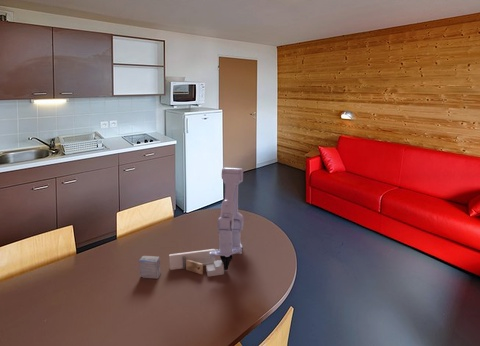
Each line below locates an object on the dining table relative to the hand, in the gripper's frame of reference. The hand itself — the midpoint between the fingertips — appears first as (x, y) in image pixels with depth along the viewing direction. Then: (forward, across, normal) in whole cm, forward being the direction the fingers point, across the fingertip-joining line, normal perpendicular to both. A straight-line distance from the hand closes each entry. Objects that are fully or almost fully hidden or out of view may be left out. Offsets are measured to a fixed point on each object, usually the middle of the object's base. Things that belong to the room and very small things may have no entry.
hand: (225, 268), depth 140 cm
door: (+1, -14, +3) cm, 14 cm away
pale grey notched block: (+1, -5, 0) cm, 5 cm away
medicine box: (+1, -33, +5) cm, 33 cm away
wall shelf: (+1, -14, +8) cm, 16 cm away
